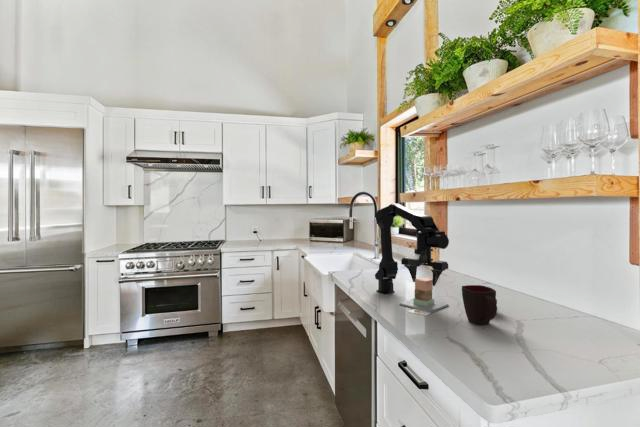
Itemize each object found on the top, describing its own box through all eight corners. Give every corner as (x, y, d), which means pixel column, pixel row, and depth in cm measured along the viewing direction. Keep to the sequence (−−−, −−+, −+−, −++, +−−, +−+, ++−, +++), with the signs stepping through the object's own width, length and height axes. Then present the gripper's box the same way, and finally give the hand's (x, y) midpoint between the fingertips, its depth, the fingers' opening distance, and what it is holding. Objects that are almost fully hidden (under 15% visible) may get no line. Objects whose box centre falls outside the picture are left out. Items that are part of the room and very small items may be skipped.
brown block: (414, 298, 133) (414, 289, 133) (421, 296, 136) (421, 287, 136) (425, 301, 129) (425, 291, 129) (432, 299, 132) (432, 289, 132)
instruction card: (408, 312, 124) (408, 311, 124) (414, 309, 128) (414, 308, 128) (426, 316, 120) (426, 314, 120) (431, 312, 124) (431, 311, 124)
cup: (483, 317, 118) (483, 284, 118) (508, 331, 105) (508, 295, 104) (457, 318, 118) (457, 285, 117) (479, 332, 104) (479, 295, 104)
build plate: (399, 304, 134) (399, 298, 134) (418, 298, 143) (418, 292, 143) (429, 313, 123) (429, 306, 123) (448, 305, 132) (448, 299, 132)
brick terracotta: (415, 288, 133) (415, 279, 133) (421, 287, 136) (421, 277, 136) (425, 291, 129) (425, 281, 129) (432, 289, 132) (432, 279, 132)
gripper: (393, 245, 135) (393, 282, 135) (434, 250, 120) (433, 291, 120) (409, 243, 142) (409, 279, 142) (449, 247, 127) (449, 286, 128)
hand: (423, 283), depth 133 cm, fingers open, 9 cm apart
